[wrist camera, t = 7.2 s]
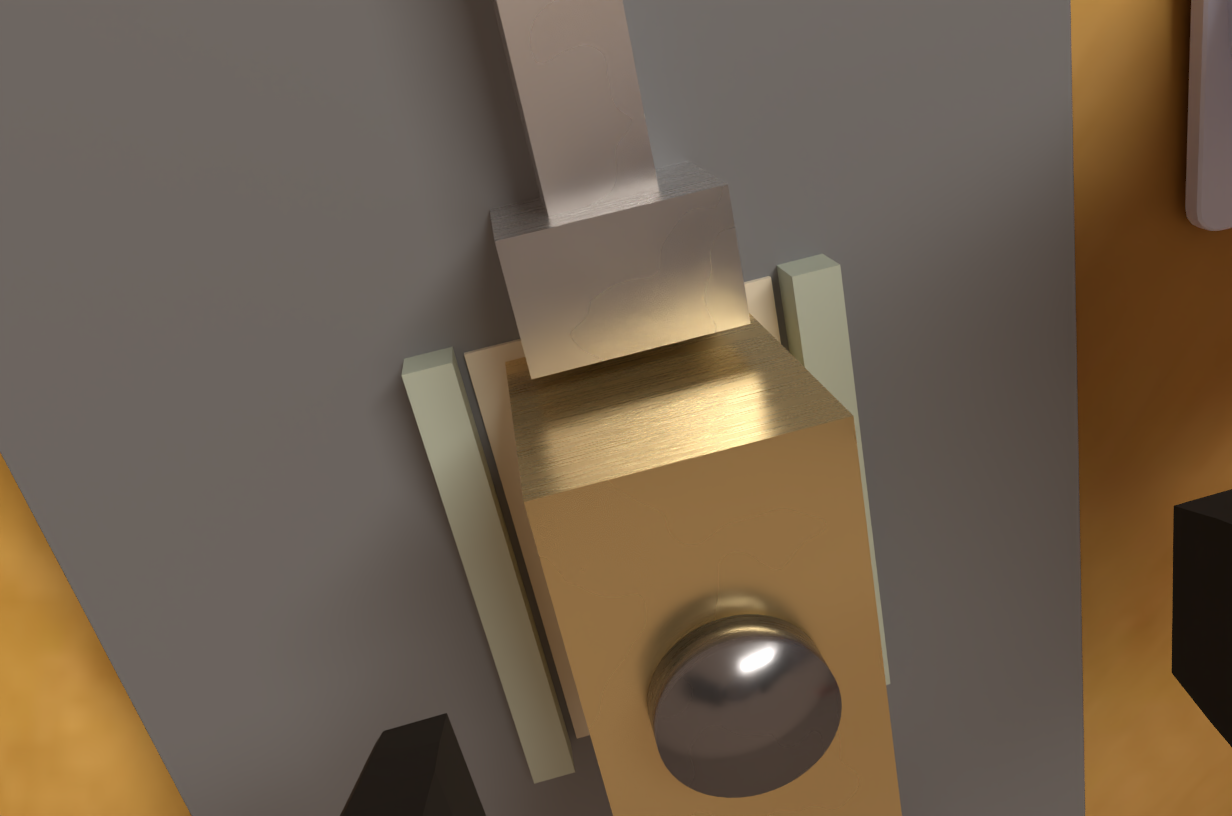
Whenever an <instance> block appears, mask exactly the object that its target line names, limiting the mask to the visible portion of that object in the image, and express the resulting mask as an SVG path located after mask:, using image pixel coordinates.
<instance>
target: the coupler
mask: <svg viewBox="0 0 1232 816" xmlns="http://www.w3.org/2000/svg"><path fill="white" fill-rule="evenodd" d="M749 317H750V323H751V324H747V325H743V326H739V327H735V328H731V329H727V330H724V331H720V332H716V333H712V334H708V335H704V336H700V337H696V338H692V339H688V340H684V341H680V342H676V343H672V344H669V345H665V346H661V347H657V348H653V349H649V350H645V351H641V352H637V353H633V354H629V355H625V356H621V357H617V358H614V359H610V360H606V361H602V362H598V363H594V364H590V365H586V366H582V367H578V368H574V369H570V370H566V371H562V372H559V373H555V374H551V375H547V376H543V377H539V378H535V379H531V376H530V372H529V368H528V365H527V361H526V357H523V358H519V359H515V360H511V361H507V362H505V366H506V373H507V381H508V388H509V396H510V403H511V411H512V418H513V426H514V433H515V441H516V448H517V456H518V463H519V471H520V478H521V486H522V493H523V501H524V505H525V509H526V512H527V516H528V519H529V523H530V526H531V530H532V533H533V537H534V540H535V544H536V547H537V551H538V554H539V558H540V561H541V565H542V568H543V572H544V575H545V579H546V582H547V586H548V589H549V593H550V596H551V600H552V603H553V607H554V610H555V614H556V617H557V621H558V624H559V628H560V631H561V635H562V638H563V642H564V645H565V649H566V652H567V656H568V659H569V663H570V666H571V670H572V673H573V677H574V680H575V684H576V687H577V691H578V694H579V698H580V701H581V705H582V708H583V712H584V716H585V719H586V723H587V726H588V730H589V733H590V737H591V740H592V744H593V747H594V751H595V754H596V758H597V761H598V765H599V768H600V772H601V775H602V779H603V782H604V786H605V789H606V793H607V796H608V800H609V803H610V807H611V810H612V814H613V816H902V812H901V804H900V795H899V787H898V779H897V771H896V762H895V754H894V746H893V738H892V729H891V721H890V713H889V704H888V696H887V688H886V680H885V671H884V663H883V655H882V647H881V638H880V630H879V622H878V613H877V605H876V597H875V589H874V580H873V572H872V564H871V556H870V547H869V539H868V531H867V522H866V514H865V506H864V498H863V489H862V481H861V473H860V465H859V456H858V448H857V440H856V431H855V423H854V416H853V415H852V414H851V413H850V412H849V411H848V410H847V409H846V408H845V407H844V406H843V405H842V404H841V403H840V402H839V401H838V400H837V399H836V398H835V397H834V396H833V395H832V394H831V393H830V392H829V391H828V390H827V389H826V388H825V387H824V386H823V385H822V384H821V383H820V382H819V381H818V380H817V379H816V378H815V377H814V376H813V375H812V374H811V373H810V372H809V371H808V370H807V369H806V368H805V367H804V366H803V365H802V364H801V363H800V362H799V361H798V360H797V359H796V358H795V357H794V356H793V355H792V354H791V353H790V352H789V351H788V350H786V349H785V348H784V347H783V346H782V345H781V344H780V343H779V342H778V341H777V340H776V339H775V338H774V337H773V336H772V335H771V334H770V333H769V332H768V331H767V330H766V329H765V328H764V327H763V326H762V325H761V324H760V323H759V322H758V321H757V320H756V319H755V318H754V317H753V316H752V315H751V314H750V313H749Z"/></svg>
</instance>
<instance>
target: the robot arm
mask: <svg viewBox="0 0 1232 816" xmlns="http://www.w3.org/2000/svg"><path fill="white" fill-rule="evenodd" d="M1185 209H1186V215H1187V218H1188V220H1189V221H1190V222H1191V224H1192V225H1194V226H1197V227H1199V228H1202V229H1206V230H1209V231H1221V230H1225V229H1229V228H1232V0H1191V28H1190V63H1189V97H1188V132H1187V167H1186V201H1185ZM1172 674H1173V675H1174V676H1175V677H1176V679H1177V680H1178V681H1179V682H1180V684H1181V685H1182V686H1183V688H1184V689H1185V690H1186V691H1187V693H1188V694H1189V695H1190V696H1191V698H1192V699H1193V700H1194V702H1195V703H1196V704H1197V705H1198V707H1199V708H1200V709H1201V710H1202V712H1203V713H1204V714H1205V716H1206V717H1207V718H1208V719H1209V721H1210V722H1211V723H1212V724H1213V725H1214V727H1215V728H1216V729H1217V730H1218V731H1219V733H1220V734H1221V735H1222V736H1223V737H1224V738H1225V740H1226V741H1227V742H1228V743H1229V744H1230V746H1231V747H1232V489H1231V490H1228V491H1224V492H1221V493H1217V494H1214V495H1210V496H1207V497H1203V498H1200V499H1196V500H1193V501H1189V502H1186V503H1182V504H1179V505H1175V506H1174V533H1173V619H1172ZM340 816H486V814H485V811H484V809H483V806H482V804H481V801H480V798H479V796H478V793H477V790H476V788H475V785H474V783H473V780H472V777H471V775H470V772H469V769H468V767H467V764H466V762H465V759H464V756H463V754H462V751H461V749H460V746H459V743H458V741H457V738H456V735H455V733H454V730H453V728H452V725H451V722H450V720H449V717H448V714H447V713H445V714H441V715H438V716H434V717H431V718H427V719H424V720H420V721H417V722H413V723H410V724H406V725H403V726H399V727H396V728H392V729H389V730H385V731H383V732H382V734H381V735H380V737H379V738H378V740H377V742H376V743H375V745H374V747H373V749H372V751H371V753H370V755H369V757H368V759H367V761H366V763H365V765H364V767H363V769H362V771H361V773H360V776H359V778H358V780H357V782H356V784H355V786H354V788H353V790H352V792H351V794H350V796H349V798H348V800H347V802H346V804H345V806H344V808H343V810H342V812H341V814H340Z"/></svg>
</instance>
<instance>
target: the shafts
mask: <svg viewBox="0 0 1232 816" xmlns="http://www.w3.org/2000/svg"><path fill="white" fill-rule="evenodd" d="M492 3H493V7H494V11H495V15H496V19H497V23H498V27H499V32H500V36H501V40H502V44H503V48H504V52H505V56H506V60H507V65H508V69H509V73H510V77H511V81H512V85H513V89H514V93H515V97H516V102H517V106H518V110H519V114H520V118H521V122H522V126H523V130H524V135H525V139H526V143H527V147H528V151H529V155H530V159H531V163H532V167H533V172H534V176H535V180H536V184H537V188H538V192H539V196H540V197H539V198H534V199H530V200H526V201H522V202H518V203H514V204H510V205H506V206H502V207H497V208H493V209H490V215H491V222H492V228H493V234H494V241H495V245H496V248H497V252H498V256H499V260H500V263H501V267H502V271H503V275H504V278H505V282H506V286H507V290H508V293H509V297H510V301H511V305H512V308H513V312H514V316H515V320H516V323H517V327H518V331H519V335H520V338H521V342H522V346H523V350H524V353H525V357H526V361H527V365H528V368H529V372H530V376H531V379H535V378H539V377H543V376H547V375H551V374H555V373H559V372H562V371H566V370H570V369H574V368H578V367H582V366H586V365H590V364H594V363H598V362H602V361H606V360H610V359H614V358H617V357H621V356H625V355H629V354H633V353H637V352H641V351H645V350H649V349H653V348H657V347H661V346H665V345H669V344H672V343H676V342H680V341H684V340H688V339H692V338H696V337H700V336H704V335H708V334H712V333H716V332H720V331H724V330H727V329H731V328H735V327H739V326H743V325H747V324H751V323H750V317H749V311H748V304H747V298H746V292H745V286H744V280H743V274H742V267H741V261H740V255H739V249H738V243H737V237H736V231H735V224H734V218H733V212H732V206H731V200H730V194H729V188H728V184H727V183H725V182H723V181H722V180H720V179H718V178H716V177H715V176H713V175H711V174H710V173H708V172H706V171H704V170H703V169H701V168H699V167H698V166H696V165H694V164H693V163H691V162H689V161H687V162H682V163H678V164H674V165H670V166H666V167H662V168H658V169H655V167H654V162H653V156H652V151H651V146H650V141H649V136H648V130H647V125H646V120H645V115H644V110H643V104H642V99H641V94H640V89H639V84H638V78H637V73H636V68H635V63H634V58H633V52H632V47H631V42H630V37H629V31H628V26H627V21H626V16H625V11H624V5H623V0H492Z"/></svg>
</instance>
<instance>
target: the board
mask: <svg viewBox="0 0 1232 816" xmlns="http://www.w3.org/2000/svg"><path fill="white" fill-rule="evenodd" d="M623 5H624V11H625V16H626V21H627V26H628V31H629V37H630V42H631V47H632V52H633V58H634V63H635V68H636V73H637V78H638V84H639V89H640V94H641V99H642V104H643V110H644V115H645V120H646V125H647V130H648V136H649V141H650V146H651V151H652V156H653V162H654V167H655V169H658V168H662V167H666V166H670V165H674V164H678V163H682V162H687V161H689V162H691V163H693V164H694V165H696V166H698V167H699V168H701V169H703V170H704V171H706V172H708V173H710V174H711V175H713V176H715V177H716V178H718V179H720V180H722V181H723V182H725V183H727V184H728V188H729V194H730V200H731V206H732V212H733V218H734V224H735V231H736V237H737V243H738V249H739V255H740V261H741V267H742V274H743V280H744V286H745V292H746V298H747V304H748V311H749V313H750V314H751V315H752V316H753V317H754V318H755V319H756V320H757V321H758V322H759V323H760V324H761V325H762V326H763V327H764V328H765V329H766V330H767V331H768V332H769V333H770V334H771V335H772V336H773V337H774V338H775V339H776V340H777V341H778V342H779V343H780V344H781V345H782V346H783V347H784V348H785V349H786V350H788V351H789V352H790V353H791V354H792V355H793V356H794V357H795V358H796V359H797V360H798V361H799V362H800V363H801V364H802V365H803V366H804V367H805V368H806V369H807V370H808V371H809V372H810V373H811V374H812V375H813V376H814V377H815V378H816V379H817V380H818V381H819V382H820V383H821V384H822V385H823V386H824V387H825V388H826V389H827V390H828V391H829V392H830V393H831V394H832V395H833V396H834V397H835V398H836V399H837V400H838V401H839V402H840V403H841V404H842V405H843V406H844V407H845V408H846V409H847V410H848V411H849V412H850V413H851V414H852V415H853V416H854V423H855V431H856V440H857V448H858V456H859V465H860V473H861V481H862V489H863V498H864V506H865V514H866V522H867V531H868V539H869V547H870V556H871V564H872V572H873V580H874V589H875V597H876V605H877V613H878V622H879V630H880V638H881V647H882V655H883V663H884V671H885V680H886V688H887V696H888V704H889V713H890V721H891V729H892V738H893V746H894V754H895V762H896V771H897V779H898V787H899V795H900V804H901V812H902V816H1085V782H1084V727H1083V672H1082V616H1081V561H1080V506H1079V451H1078V396H1077V341H1076V285H1075V230H1074V175H1073V120H1072V65H1071V10H1070V0H623ZM539 197H540V196H539V192H538V188H537V184H536V180H535V176H534V172H533V167H532V163H531V159H530V155H529V151H528V147H527V143H526V139H525V135H524V130H523V126H522V122H521V118H520V114H519V110H518V106H517V102H516V97H515V93H514V89H513V85H512V81H511V77H510V73H509V69H508V65H507V60H506V56H505V52H504V48H503V44H502V40H501V36H500V32H499V27H498V23H497V19H496V15H495V11H494V7H493V3H492V0H0V452H1V454H2V456H3V458H4V460H5V462H6V464H7V466H8V468H9V469H10V471H11V473H12V475H13V477H14V479H15V481H16V483H17V485H18V487H19V489H20V490H21V492H22V494H23V496H24V498H25V500H26V502H27V504H28V506H29V508H30V509H31V511H32V513H33V515H34V517H35V519H36V521H37V523H38V525H39V527H40V528H41V530H42V532H43V534H44V536H45V538H46V540H47V542H48V544H49V546H50V547H51V549H52V551H53V553H54V555H55V557H56V559H57V561H58V563H59V565H60V566H61V568H62V570H63V572H64V574H65V576H66V578H67V580H68V582H69V584H70V585H71V587H72V589H73V591H74V593H75V595H76V597H77V599H78V601H79V603H80V604H81V606H82V608H83V610H84V612H85V614H86V616H87V618H88V620H89V622H90V623H91V625H92V627H93V629H94V631H95V633H96V635H97V637H98V639H99V641H100V642H101V644H102V646H103V648H104V650H105V652H106V654H107V656H108V658H109V660H110V661H111V663H112V665H113V667H114V669H115V671H116V673H117V675H118V677H119V679H120V680H121V682H122V684H123V686H124V688H125V690H126V692H127V694H128V696H129V698H130V699H131V701H132V703H133V705H134V707H135V709H136V711H137V713H138V715H139V717H140V718H141V720H142V722H143V724H144V726H145V728H146V730H147V732H148V734H149V736H150V737H151V739H152V741H153V743H154V745H155V747H156V749H157V751H158V753H159V755H160V756H161V758H162V760H163V762H164V764H165V766H166V768H167V770H168V772H169V774H170V775H171V777H172V779H173V781H174V783H175V785H176V787H177V789H178V791H179V793H180V794H181V796H182V798H183V800H184V802H185V804H186V806H187V808H188V810H189V812H190V813H191V815H192V816H340V814H341V812H342V810H343V808H344V806H345V804H346V802H347V800H348V798H349V796H350V794H351V792H352V790H353V788H354V786H355V784H356V782H357V780H358V778H359V776H360V773H361V771H362V769H363V767H364V765H365V763H366V761H367V759H368V757H369V755H370V753H371V751H372V749H373V747H374V745H375V743H376V742H377V740H378V738H379V737H380V735H381V734H382V732H383V731H385V730H389V729H392V728H396V727H399V726H403V725H406V724H410V723H413V722H417V721H420V720H424V719H427V718H431V717H434V716H438V715H441V714H445V713H447V714H448V717H449V720H450V722H451V725H452V728H453V730H454V733H455V735H456V738H457V741H458V743H459V746H460V749H461V751H462V754H463V756H464V759H465V762H466V764H467V767H468V769H469V772H470V775H471V777H472V780H473V783H474V785H475V788H476V790H477V793H478V796H479V798H480V801H481V804H482V806H483V809H484V811H485V814H486V816H613V814H612V810H611V807H610V803H609V800H608V796H607V793H606V789H605V786H604V782H603V779H602V775H601V772H600V768H599V765H598V761H597V758H596V754H595V751H594V747H593V744H592V740H591V737H590V733H589V730H588V726H587V723H586V719H585V716H584V712H583V708H582V705H581V701H580V698H579V694H578V691H577V687H576V684H575V680H574V677H573V673H572V670H571V666H570V663H569V659H568V656H567V652H566V649H565V645H564V642H563V638H562V635H561V631H560V628H559V624H558V621H557V617H556V614H555V610H554V607H553V603H552V600H551V596H550V593H549V589H548V586H547V582H546V579H545V575H544V572H543V568H542V565H541V561H540V558H539V554H538V551H537V547H536V544H535V540H534V537H533V533H532V530H531V526H530V523H529V519H528V516H527V512H526V509H525V505H524V501H523V493H522V486H521V478H520V471H519V463H518V456H517V448H516V441H515V433H514V426H513V418H512V411H511V403H510V396H509V388H508V381H507V373H506V366H505V362H507V361H511V360H515V359H519V358H523V357H525V353H524V350H523V346H522V342H521V338H520V335H519V331H518V327H517V323H516V320H515V316H514V312H513V308H512V305H511V301H510V297H509V293H508V290H507V286H506V282H505V278H504V275H503V271H502V267H501V263H500V260H499V256H498V252H497V248H496V245H495V241H494V234H493V228H492V222H491V215H490V209H493V208H497V207H502V206H506V205H510V204H514V203H518V202H522V201H526V200H530V199H534V198H539Z"/></svg>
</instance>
